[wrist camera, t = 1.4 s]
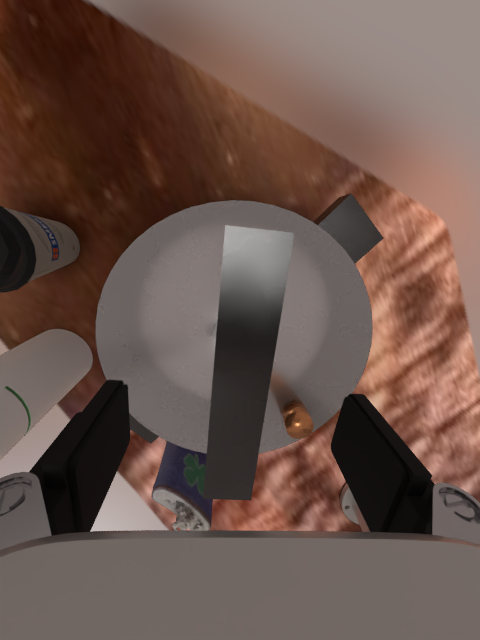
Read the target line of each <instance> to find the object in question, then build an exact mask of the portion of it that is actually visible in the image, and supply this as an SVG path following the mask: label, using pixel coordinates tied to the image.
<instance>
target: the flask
mask: <svg viewBox="0 0 480 640" xmlns="http://www.w3.org/2000/svg"><path fill="white" fill-rule="evenodd" d="M206 455H207V454H206V453H201V452H196V451H193V450H189V449H186V448H183V447H180V446H178V445H176V444H173V443H171V442H169V441H167V443H166V447H165V451H164V454H163V457H162V461H161V465H160V468H159V472H158V475H157V478H156V481H155V484H154V486H153V491H152V498H153V500H154V501H156V502H157V503H159V504H161V505H163V506H165V507H166V508H168V509H169V510H171V511H172V512H174V513H175V514H176V515H177V517H176V521H177V522H175V523H173V525H172V526H173V528H174V531H177V528H176V527H180V528H181V530H185V531H186V527H187V529H189V528H190V530H191V531H208V530H209V529H210V527H211V516H212V502H213V499H203V492H204V480H205V467H206Z"/></svg>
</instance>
